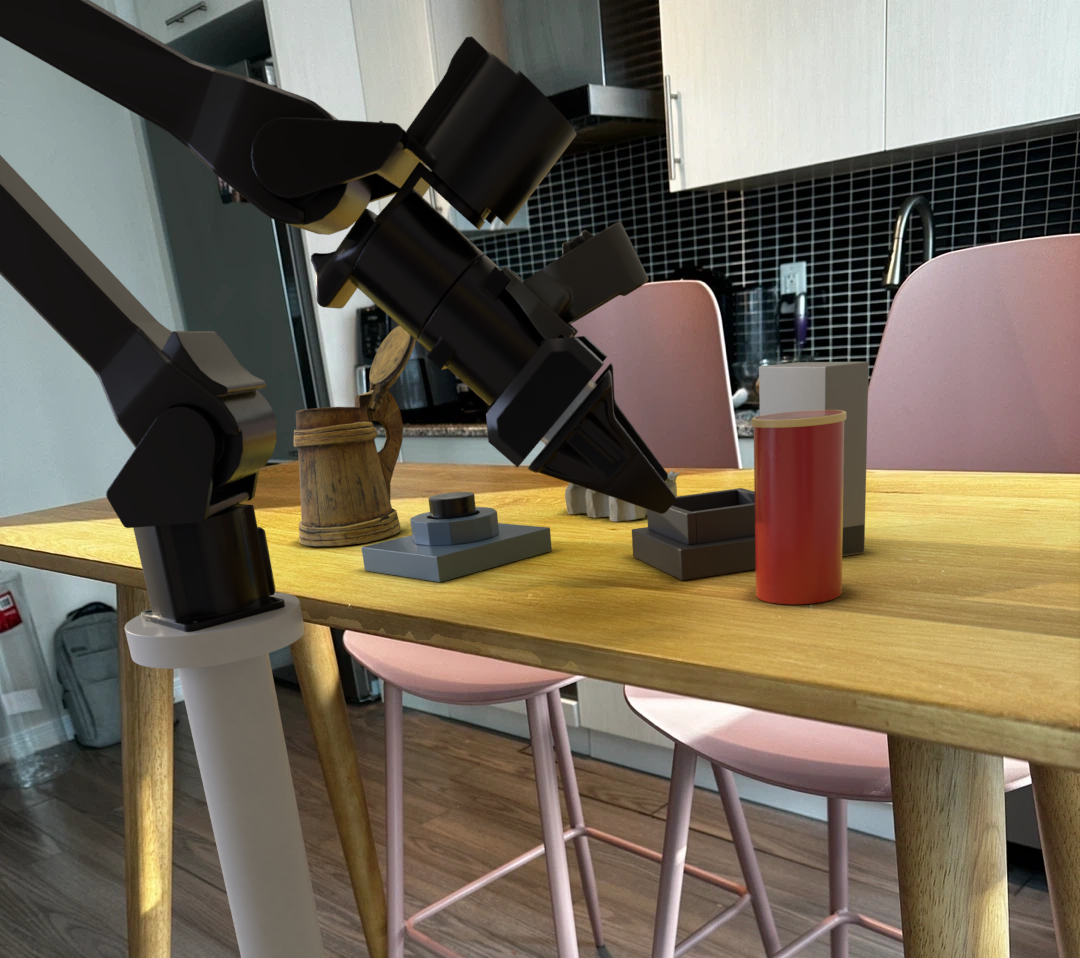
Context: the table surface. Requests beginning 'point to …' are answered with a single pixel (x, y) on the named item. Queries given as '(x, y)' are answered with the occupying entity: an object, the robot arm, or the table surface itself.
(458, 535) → the control pad
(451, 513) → the button
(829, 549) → the red cylinder
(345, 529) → the wooden mug
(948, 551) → the table surface
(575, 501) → the egg carton
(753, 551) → the coffee maker
